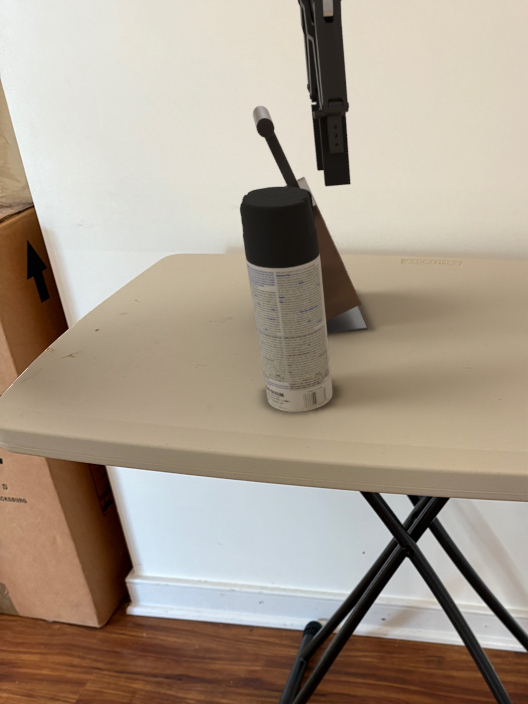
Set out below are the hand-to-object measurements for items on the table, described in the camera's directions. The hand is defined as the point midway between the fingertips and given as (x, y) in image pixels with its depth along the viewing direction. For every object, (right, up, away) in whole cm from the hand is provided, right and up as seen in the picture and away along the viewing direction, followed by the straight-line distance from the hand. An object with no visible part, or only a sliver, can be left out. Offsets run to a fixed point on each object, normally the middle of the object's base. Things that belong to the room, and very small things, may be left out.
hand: (333, 176), depth 84 cm
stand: (-2, -13, +10) cm, 16 cm away
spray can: (-3, -26, -6) cm, 27 cm away
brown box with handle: (-2, -11, +8) cm, 14 cm away
